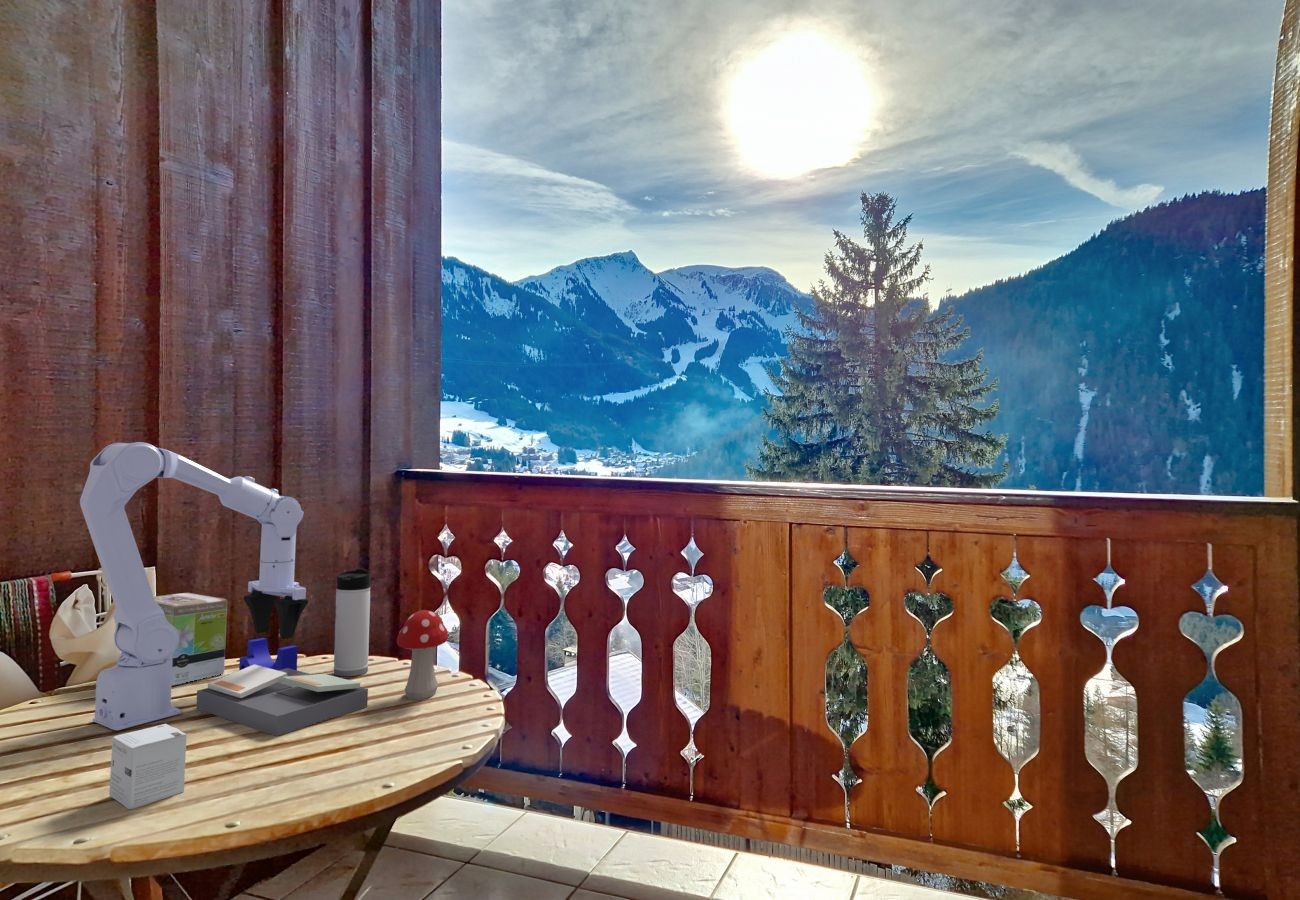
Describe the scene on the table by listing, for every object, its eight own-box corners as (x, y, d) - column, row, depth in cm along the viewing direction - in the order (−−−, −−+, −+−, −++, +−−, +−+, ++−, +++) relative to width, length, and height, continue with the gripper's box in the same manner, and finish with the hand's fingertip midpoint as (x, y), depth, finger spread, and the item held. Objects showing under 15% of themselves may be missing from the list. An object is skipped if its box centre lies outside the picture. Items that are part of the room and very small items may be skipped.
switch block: (277, 736, 106) (277, 715, 106) (196, 708, 117) (197, 689, 117) (394, 697, 125) (394, 679, 125) (314, 677, 136) (315, 660, 136)
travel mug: (374, 668, 143) (377, 569, 143) (357, 677, 136) (361, 573, 137) (345, 666, 143) (348, 568, 144) (327, 676, 137) (330, 572, 137)
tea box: (226, 674, 137) (229, 598, 137) (170, 688, 128) (173, 606, 128) (185, 662, 144) (188, 590, 145) (129, 674, 136) (132, 597, 136)
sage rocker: (317, 691, 113) (318, 686, 113) (281, 681, 117) (282, 676, 118) (359, 687, 119) (360, 682, 119) (323, 678, 124) (324, 673, 124)
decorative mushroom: (431, 705, 121) (433, 617, 122) (384, 701, 123) (387, 614, 123) (455, 687, 131) (457, 606, 131) (412, 684, 132) (414, 604, 133)
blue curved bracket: (239, 672, 138) (240, 642, 139) (261, 667, 142) (262, 637, 142) (273, 683, 132) (274, 651, 132) (296, 677, 136) (297, 646, 136)
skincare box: (108, 797, 86) (110, 736, 86) (164, 779, 91) (166, 721, 91) (128, 811, 83) (131, 747, 83) (186, 792, 88) (188, 732, 88)
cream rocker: (240, 698, 113) (240, 693, 113) (208, 688, 118) (207, 683, 118) (287, 677, 120) (287, 672, 120) (254, 668, 125) (254, 663, 125)
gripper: (322, 561, 130) (319, 636, 130) (274, 555, 137) (271, 626, 137) (286, 565, 124) (282, 643, 123) (238, 559, 131) (235, 632, 131)
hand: (274, 635), depth 130 cm, fingers open, 7 cm apart
